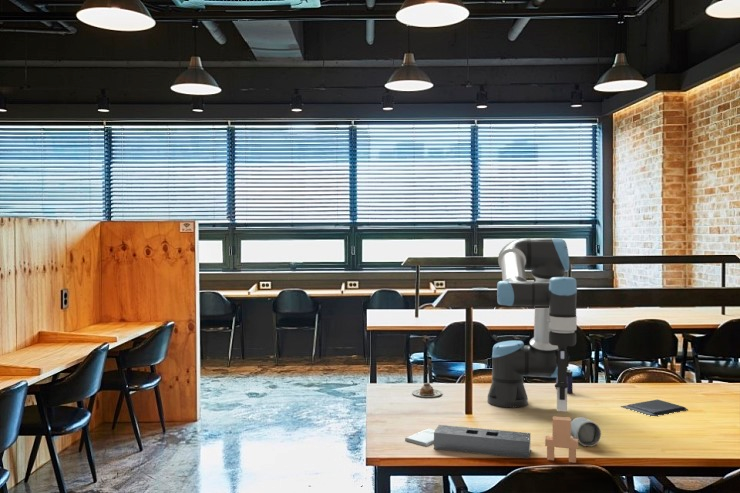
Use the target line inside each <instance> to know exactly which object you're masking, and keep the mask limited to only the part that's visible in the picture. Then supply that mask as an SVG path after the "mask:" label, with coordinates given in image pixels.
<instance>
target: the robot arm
mask: <svg viewBox="0 0 740 493" xmlns="http://www.w3.org/2000/svg"><path fill="white" fill-rule="evenodd" d="M497 262H498V266H499V267H500V269H501V277H502V280H500V281H498V282H497V285H496V291H497V292H496V296H497V297H496V298H497V299H496V300H497V301H496V302H497V304H498V305H500V306H508V307H517V306H519V307H534V319H533V320H534V322H533V323H534V324H533V326H534V329H533V337H532V338H531V339H530V340H529V345H528V344H527V345H525V343H524V341H522V340H506V341H505V340H504V341H500V342H499V341H498V342H497V343H495V344H494V345H493V347H492V355H491V358H492V365H491V367H492V369H491V370H492V371H491V372H492V373H491V374H492V375H491V376H492V380H491V384H490V387H489V390H488V394H487V403H489V404H490V405H493V406H496V407H501V408H521V407H525V406H527V405H528V402H529V401H528V400H529V399H528V397H529V396H528V393H527V392H526V387H525V384H524V377H540V378H556V377H557V384H556V383H555V384H554V388H555V389H556V388H557V389H556V411H557V412H568V394H567V376H568V377H569V373H567V368H568V367H569V364H570V360H569V359H570V354H571V353H570V350H567V348H568V347H575V346H576V344H577V333H576V331H577V329H578V328H577V324H578V323H577V321H578V320H577V318H578V317H577V296H578V294H577V292H578V288H577V287H578V286H577V279H576V278H575V277H570V276H565V275H566V274H565V272H569V271H570V257H569V250H568V245H567V242H566V240H565V239H563V238H553V237H545V238H543V237H541V238H539V237H538V238H527V237H526V238H525V237H524V238H517V239H514V240H512V241H510V242H509V243H507V244H506V245H505V246H503V247H502V249H501V250H500V252H499V253H498V257H497ZM526 271H531V276H532V277H533V278H534V279H535V281H534V280H533V281H531V280H530V281H529V280H527V274H526ZM535 306H549V308H535Z"/></svg>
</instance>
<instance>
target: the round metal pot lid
mask: <svg viewBox="0 0 740 493" xmlns="http://www.w3.org/2000/svg"><path fill="white" fill-rule="evenodd" d="M411 393H412V395H414V396H416V397H419V398H424V399H427V398H429V399H430V398H438V397H440V396H441V395H443V392H442V390H439V389H434V387H433V385H431V383H429V382H425V383H423V385H422V386H421V388H420V389H419V388H417V389H415V390H413V391H412V392H411ZM419 394H420V395H419ZM435 394H436V395H435Z"/></svg>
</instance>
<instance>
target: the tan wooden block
mask: <svg viewBox="0 0 740 493" xmlns="http://www.w3.org/2000/svg"><path fill="white" fill-rule="evenodd" d="M571 421H572V419H571V417H568V416H566V417H563V416H554V415H553V416H552V436H551V435H548V436H547V435H545V437H544V438H545V440H544V442H545V443H544V444H545V445H544V446H545V447H546V460H547V461H555V448H561V449H568V463H573V464H574V463H577V450H579V442H578V439H572V438H573V437H572V436H571Z"/></svg>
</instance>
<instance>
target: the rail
mask: <svg viewBox="0 0 740 493" xmlns="http://www.w3.org/2000/svg"><path fill="white" fill-rule="evenodd" d="M434 430H435V432H434V443H433V450H439V451H440V450H443V451H449V452H450V451H451V452H458V453H469V454H480V455H489V456H491V455H492V456H497V457H499V456H500V457H509V458H518V459H526V460H527V459H529V460H530V455H531V432H522V431H521V432H520V431H510V430H499V429H491V428H490V429H488V428H478V427H469V426H468V427H465V426H456V425H446V424H445V425H444V424H438V426H437V427H436V429H434Z"/></svg>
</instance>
